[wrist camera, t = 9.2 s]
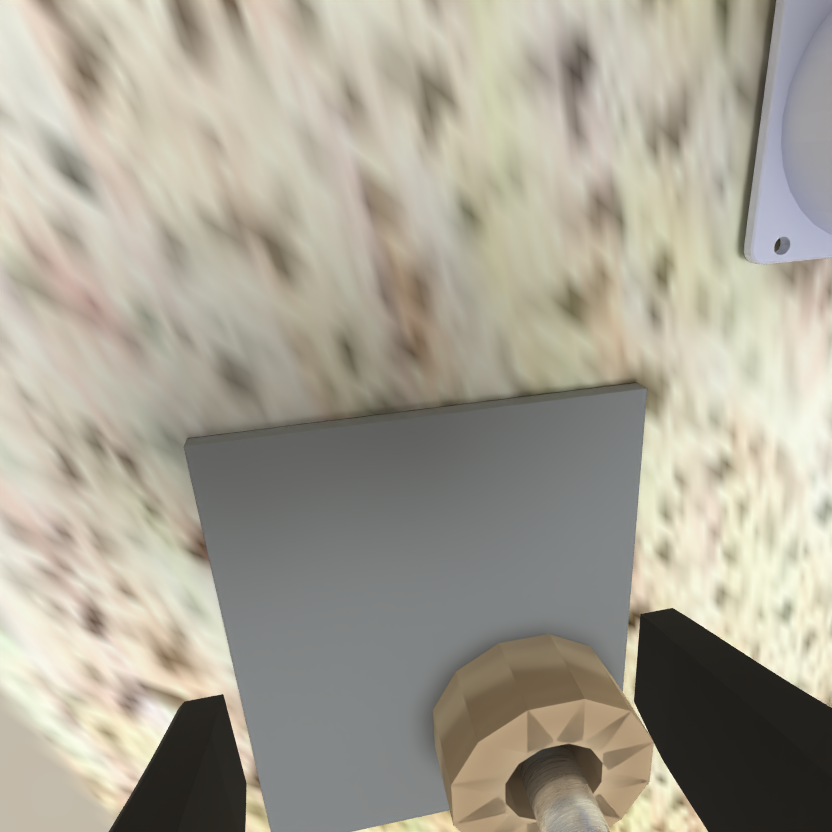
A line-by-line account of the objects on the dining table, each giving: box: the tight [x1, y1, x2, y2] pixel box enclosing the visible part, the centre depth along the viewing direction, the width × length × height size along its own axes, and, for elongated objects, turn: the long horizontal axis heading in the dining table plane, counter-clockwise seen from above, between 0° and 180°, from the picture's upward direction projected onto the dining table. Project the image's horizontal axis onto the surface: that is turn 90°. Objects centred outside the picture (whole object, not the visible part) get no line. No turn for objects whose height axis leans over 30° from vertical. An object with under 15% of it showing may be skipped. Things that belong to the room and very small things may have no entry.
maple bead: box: [432, 634, 654, 832], centre depth 22 cm, size 7×7×3 cm
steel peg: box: [517, 744, 611, 832], centre depth 19 cm, size 2×2×8 cm
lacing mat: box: [184, 383, 647, 832], centre depth 21 cm, size 14×17×1 cm
